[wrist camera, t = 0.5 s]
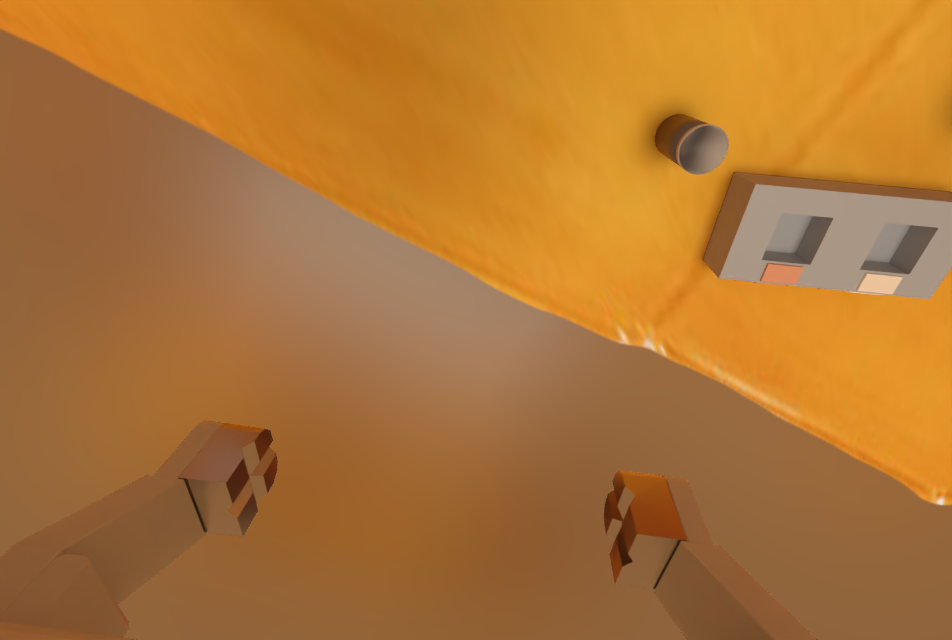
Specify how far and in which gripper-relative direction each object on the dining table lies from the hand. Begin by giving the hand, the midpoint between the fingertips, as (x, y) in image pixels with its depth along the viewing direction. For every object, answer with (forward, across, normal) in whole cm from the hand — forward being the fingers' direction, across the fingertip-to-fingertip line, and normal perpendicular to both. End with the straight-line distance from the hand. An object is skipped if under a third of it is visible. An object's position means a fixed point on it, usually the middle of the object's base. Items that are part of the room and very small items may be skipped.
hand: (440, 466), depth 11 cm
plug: (+43, -18, -2) cm, 47 cm away
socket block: (+43, -36, +6) cm, 56 cm away
